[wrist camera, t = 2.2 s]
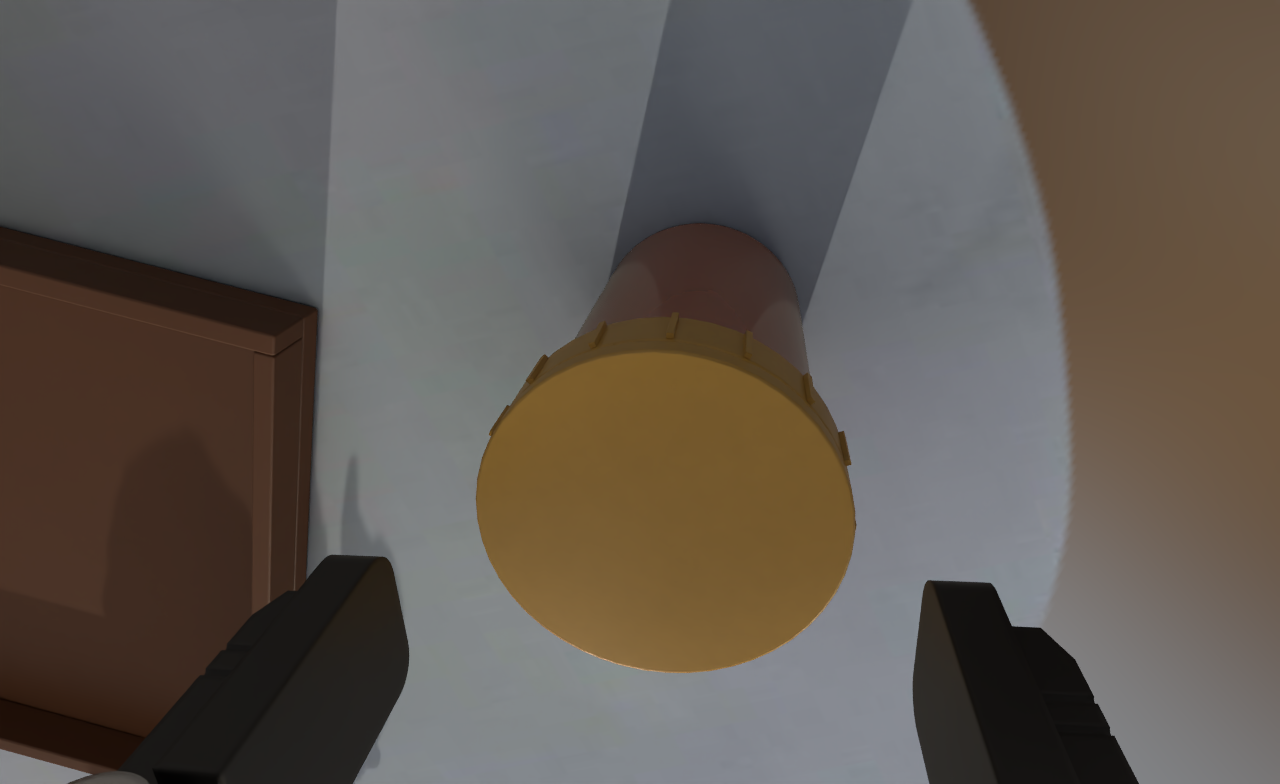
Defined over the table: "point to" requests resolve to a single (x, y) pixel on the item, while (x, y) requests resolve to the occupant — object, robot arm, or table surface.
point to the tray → (138, 487)
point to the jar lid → (668, 496)
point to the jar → (707, 287)
